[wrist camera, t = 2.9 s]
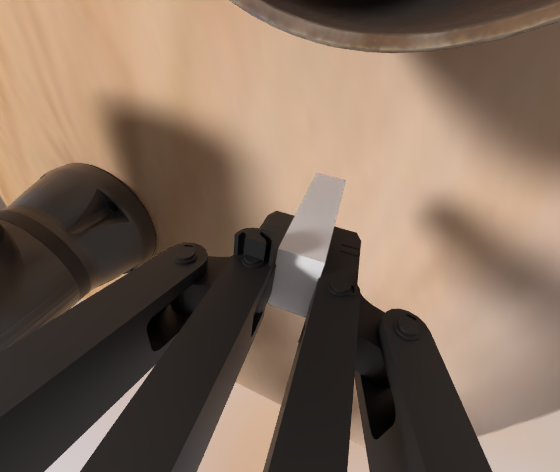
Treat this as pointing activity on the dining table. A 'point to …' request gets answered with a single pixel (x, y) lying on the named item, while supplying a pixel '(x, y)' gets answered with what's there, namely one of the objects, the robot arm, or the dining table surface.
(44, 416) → the robot arm
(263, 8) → the plant pot
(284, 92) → the dining table surface
